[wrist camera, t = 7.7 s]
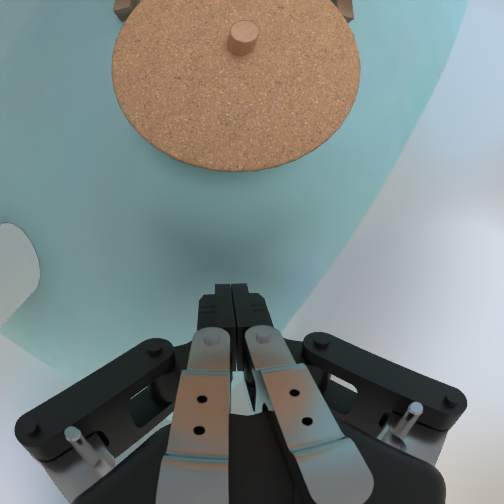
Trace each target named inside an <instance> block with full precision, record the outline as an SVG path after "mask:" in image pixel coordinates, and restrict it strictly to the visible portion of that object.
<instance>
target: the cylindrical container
mask: <svg viewBox="0 0 504 504" xmlns="http://www.w3.org/2000/svg"><path fill="white" fill-rule="evenodd" d="M39 280H40V267H39V261H38V257H37V254H36V251H35V249H34V247H33V245H32V243H31V241H30V240H29V238H28V237H27V235H26V234H25V233H24V232H23V231H22V230H21V229H20V228H19V227H17V226H15V225H13V224H11V223H3V224H0V328H1V327H2V326H3V325H4V324H5V323H6V321H7V320H8V319H9V318H10V317H11V316H12V315H13V314H14V312H15V311H16V310H17V309H18V308H19V307H20V306H21V305H22V304H23V303H24V302H25V301H26V300H27V299H28V297H29V296H30V295H31V294H32V293H33V292H34V291H35V290H36V288H37V287H38V284H39Z"/></svg>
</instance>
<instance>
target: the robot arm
mask: <svg viewBox="0 0 504 504" xmlns="http://www.w3.org/2000/svg"><path fill="white" fill-rule="evenodd" d="M236 363H237V371H243V372H244V387H245V391H246V395H247V398H248V402H249V406H250V409H251V413H252V415H250V416H244V415H237V414H231V382H232V379H233V376H232V371H236ZM331 374H332V375H334V376H336V377H338V378H340V379H342V380H344V381H346V382H348V383H350V384H352V385H353V386H354V387H355V388H356V389H357V392H358V393H356V392H354V391H352V390H350V389H348V388H346V387H344V386H342V385H340V384H338V383H336V382H334V381H332V380H330V377H331ZM145 387H147V388H145ZM144 388H145V389H144ZM143 389H144V390H143ZM141 390H143V391H141ZM140 391H141V392H140ZM138 392H140V393H139V394H137V393H138ZM136 394H137V395H136ZM134 395H136V396H134ZM133 396H134V397H133ZM132 397H133V398H132ZM131 398H132V399H131ZM466 407H467V399H466V397H465V395H464V394H463V393H462V392H461V391H460V390H459V389H457V388H454V387H452V386H449V385H446V384H444V383H441V382H439V381H437V380H434V379H431V378H429V377H427V376H424V375H422V374H419V373H417V372H414V371H412V370H410V369H407V368H405V367H403V366H400V365H398V364H395V363H393V362H391V361H388V360H386V359H384V358H382V357H379V356H377V355H375V354H372V353H370V352H368V351H365V350H363V349H361V348H359V347H357V346H354V345H352V344H350V343H348V342H346V341H343V340H341V339H339V338H337V337H334V336H333V335H330V334H327V333H324V332H314V333H310V334H308V335H307V336H306V337H305V338H304V340H303V342H301V341H293V340H288V339H285V338H283V337H282V335H281V333H280V331H279V330H277V329H276V328H274V326H273V323H272V320H271V318H270V315H269V312H268V309H267V306H266V303H265V300H264V298H263V297H262V296H261V295H259V294H258V293H249V291H248V287H247V284H246V283H244V284H231V287H230V284H215V294H208V295H203V296H202V298H201V299H200V300H199V310H198V324H197V332H196V333H195V334H194V336H193V339H192V341H190V342H189V343H187V344H184V345H180V346H176V347H173V345H172V344H171V343H170V342H169V341H167V340H165V339H161V338H152V339H148V340H145V341H143V342H142V343H140V344H138V345H137V346H135V347H134V348H132V349H130V350H129V351H127V352H126V353H124V354H122V355H121V356H119V357H118V358H116V359H114V360H113V361H111V362H110V363H108V364H106V365H105V366H103V367H102V368H100V369H98V370H97V371H95V372H93V373H92V374H90V375H89V376H87V377H85V378H84V379H82V380H80V381H79V382H77V383H75V384H74V385H72V386H71V387H69V388H67V389H66V390H64V391H62V392H61V393H59V394H57V395H56V396H54V397H52V398H51V399H49V400H47V401H46V402H44V403H42V404H41V405H39V406H37V407H35V408H34V409H32V410H30V411H29V412H27V413H25V414H24V415H22V416H21V417H20V418H19V419H18V420H17V422H16V425H15V436H16V438H17V440H18V441H19V442H20V443H21V444H22V445H23V446H24V447H25V449H27V451H28V452H29V453H30V454H31V456H32V457H33V458H34V459H35V460H36V461H37V462H38V463H40V464H41V465H42V466H43V467H44V469H45V470H46V472H47V473H48V475H49V476H50V478H51V479H52V480H53V482H54V483H55V485H56V486H57V487H58V489H59V490H60V491H61V493H62V494H63V495H64V497H65V498H66V499H67V500H68V501H69V503H70V504H445V499H446V486H445V482H444V479H443V477H442V475H441V473H440V472H439V471H438V470H437V469H436V468H435V467H434V466H435V464H436V462H437V459H438V456H439V454H440V452H441V449H442V446H443V444H444V441H445V438H446V435H447V432H448V431H449V430H450V429H451V427H452V426H453V425H454V424H455V422H456V421H457V420H458V419H459V417H460V416H461V415H462V414H463V412H464V411H465V409H466ZM173 411H174V412H173ZM172 412H173V418H172V423H171V424H169V425H167V426H165V427H163V428H161V429H159V430H158V431H156V432H155V433H154V434H153V435H152V436H150V437H149V438H148V439H147V440H146V441H145V442H144V443H143V444H141V445H140V446H139V447H138V448H137V449H136V450H135V451H134V452H132V453H131V454H130V455H129V456H128V457H126V458H125V459H124V460H123V461H122V462H120V463H119V464H118V465H117V466H116V467H115V458H116V457H118V456H119V455H120V454H122V453H123V452H124V451H125V450H127V449H128V448H129V447H130V446H132V445H133V444H134V443H136V442H137V441H138V440H139V439H141V438H142V437H143V436H144V435H145V434H147V433H148V432H149V431H151V430H152V429H153V428H154V427H155V426H157V425H158V424H159V423H160V422H161V421H163V420H164V419H165V418H166V417H167V416H168V415H170V414H171V413H172Z"/></svg>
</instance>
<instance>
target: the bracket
mask: <svg viewBox="0 0 504 504" xmlns="http://www.w3.org/2000/svg"><path fill="white" fill-rule="evenodd" d="M330 1H331V2H332V3H333V4H334V5H335V6H336V7H337V8H338V10H339V11H340V12H341V14H342V15H343V17H344V18H345V19H346V21H347V23H349V22H350V21H351V20H353V19H354V15H353V6H352V0H330ZM139 3H140V0H115V4H114V8H113V11H114V12H115V14H116V15H117V16H118V18H119V19H120V20H121V21H124V20H127V18H128V17H129V15H130V14H131V12H132V11H133V10H134V8H135V7H136V6H137V5H138V4H139Z"/></svg>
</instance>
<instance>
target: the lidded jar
mask: <svg viewBox="0 0 504 504" xmlns="http://www.w3.org/2000/svg"><path fill="white" fill-rule="evenodd" d="M112 80H113V87H114V92H115V94H116V97H117V100H118V103H119V106H120V108H121V109H122V111H123V113H124V115H125V116H126V118H127V120H128V121H129V123H130V124H131V125H132V126H133V127H134V128H135V130H136V131H137V132H138V133H139V134H140V135H141V136H142V137H143V138H144V139H145V140H147V141H148V142H149V143H150V144H152V145H153V146H154V147H155V148H156V149H158V150H160V151H162V152H164V153H165V154H167V155H169V156H171V157H172V158H174V159H177V160H179V161H182V162H185V163H187V164H190V165H192V166H196V167H201V168H205V169H210V170H215V171H228V172H246V171H258V170H263V169H268V168H273V167H278V166H280V165H283V164H286V163H289V162H292V161H295V160H297V159H299V158H301V157H302V156H304V155H306V154H308V153H310V152H312V151H313V150H315V149H316V148H317V147H319V146H320V145H321V144H323V143H324V142H326V141H327V140H328V139H329V138H330V137H331V136H332V135H333V134H334V133H335V132H336V131H337V130H338V129H339V127H340V126H341V125H342V123H343V122H344V120H345V119H346V117H347V116H348V114H349V112H350V110H351V108H352V106H353V103H354V101H355V99H356V95H357V91H358V87H359V82H360V59H359V51H358V48H357V45H356V41H355V38H354V35H353V33H352V31H351V29H350V27H349V25H348V23H347V21H346V19H345V18H344V17H343V15H342V14H341V12H340V11H339V10H338V8H337V7H336V6H335V5H334V4H333V3H332V2H331V1H330V0H142V1H141V2H140V3H139V4H138V5H137V6H136V7H135V8H134V10H133V11H132V12H131V14H130V15H129V17H128V18H127V20H126V21H125V23H124V24H123V26H122V28H121V31H120V33H119V35H118V38H117V40H116V44H115V48H114V52H113V56H112Z"/></svg>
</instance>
